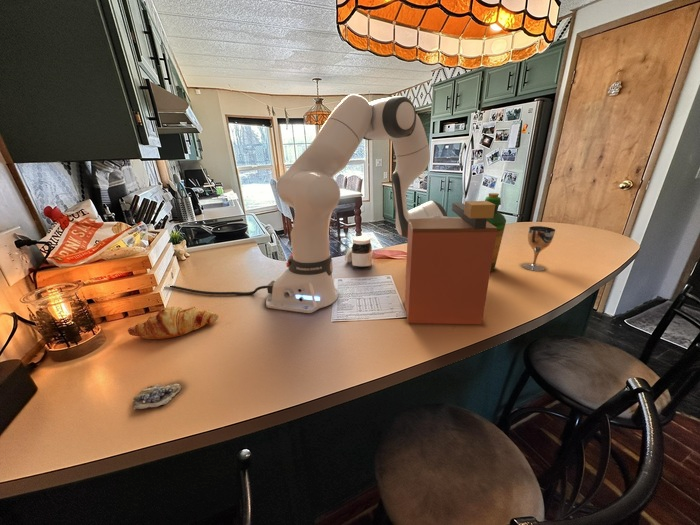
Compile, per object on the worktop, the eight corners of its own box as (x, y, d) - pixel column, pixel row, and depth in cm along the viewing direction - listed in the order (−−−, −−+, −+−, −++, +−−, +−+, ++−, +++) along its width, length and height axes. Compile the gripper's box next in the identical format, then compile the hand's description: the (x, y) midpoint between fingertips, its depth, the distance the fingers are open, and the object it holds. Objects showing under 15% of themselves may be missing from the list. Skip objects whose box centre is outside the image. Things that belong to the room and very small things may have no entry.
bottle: (480, 275, 100) (492, 197, 90) (461, 264, 110) (470, 193, 100) (504, 271, 103) (518, 194, 93) (484, 261, 112) (495, 190, 102)
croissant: (222, 325, 82) (218, 299, 83) (217, 328, 73) (213, 298, 73) (137, 343, 75) (134, 313, 76) (120, 348, 66) (116, 315, 66)
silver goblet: (544, 273, 100) (554, 233, 95) (519, 268, 105) (527, 230, 99) (546, 266, 106) (556, 227, 101) (522, 261, 111) (530, 225, 105)
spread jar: (369, 271, 107) (369, 242, 103) (341, 269, 110) (340, 241, 105) (373, 260, 118) (373, 233, 114) (347, 259, 120) (346, 233, 116)
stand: (407, 322, 74) (412, 228, 65) (404, 303, 84) (408, 219, 74) (481, 324, 73) (497, 227, 63) (469, 304, 82) (482, 218, 72)
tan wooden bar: (468, 228, 63) (471, 204, 61) (447, 210, 83) (449, 192, 81) (491, 228, 63) (495, 204, 61) (464, 210, 82) (466, 191, 80)
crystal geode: (134, 394, 55) (131, 387, 54) (180, 376, 59) (177, 369, 58) (133, 419, 50) (129, 411, 49) (183, 397, 54) (180, 389, 53)
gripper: (413, 221, 98) (419, 208, 85) (473, 220, 96) (489, 207, 83) (413, 238, 97) (419, 228, 84) (473, 238, 95) (490, 227, 82)
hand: (454, 217), depth 83 cm, fingers open, 8 cm apart
